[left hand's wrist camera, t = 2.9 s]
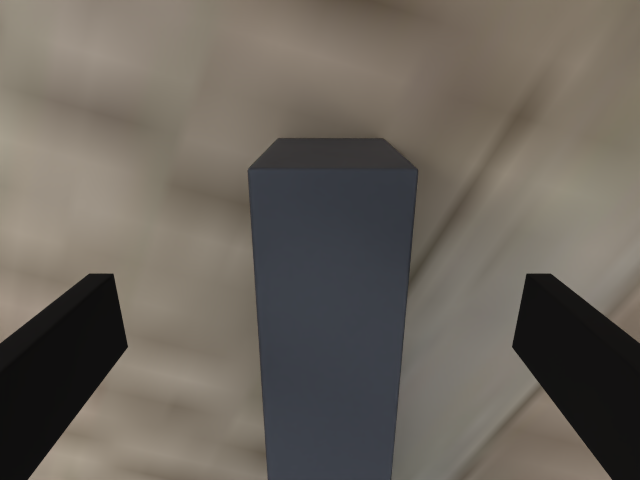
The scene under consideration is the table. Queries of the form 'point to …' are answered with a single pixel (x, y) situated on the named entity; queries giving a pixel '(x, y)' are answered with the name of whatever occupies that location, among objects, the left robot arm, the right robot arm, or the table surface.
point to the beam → (331, 302)
